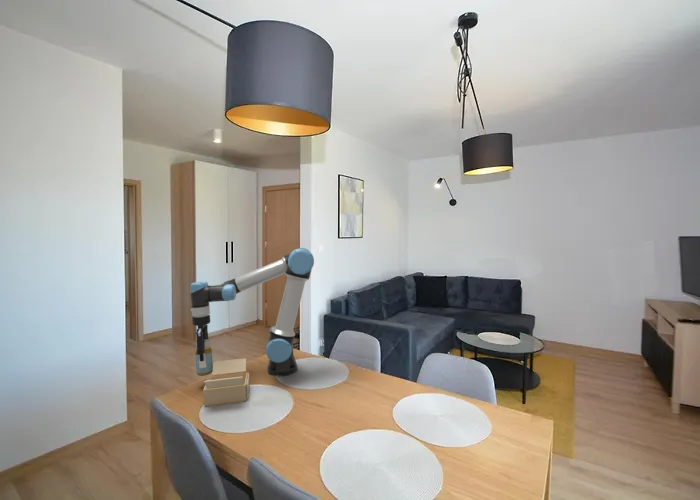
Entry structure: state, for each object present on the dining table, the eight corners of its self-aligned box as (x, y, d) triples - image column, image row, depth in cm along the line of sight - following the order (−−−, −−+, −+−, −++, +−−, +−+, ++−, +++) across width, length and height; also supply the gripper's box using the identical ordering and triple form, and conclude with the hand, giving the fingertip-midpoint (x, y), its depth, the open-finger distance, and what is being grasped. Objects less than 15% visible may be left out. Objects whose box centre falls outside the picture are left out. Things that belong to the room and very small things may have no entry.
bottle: (209, 375, 153) (206, 343, 152) (193, 376, 153) (191, 344, 153) (215, 369, 160) (213, 338, 159) (201, 370, 160) (198, 339, 160)
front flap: (204, 380, 134) (204, 381, 134) (242, 376, 137) (242, 377, 137) (206, 387, 138) (206, 388, 138) (243, 383, 142) (243, 384, 141)
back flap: (246, 358, 159) (246, 358, 159) (213, 361, 155) (213, 361, 156) (245, 371, 155) (245, 371, 155) (212, 375, 151) (212, 375, 152)
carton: (249, 387, 156) (249, 372, 155) (247, 401, 142) (247, 384, 142) (209, 392, 152) (208, 376, 151) (203, 407, 138) (202, 390, 138)
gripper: (196, 311, 164) (200, 358, 165) (187, 321, 145) (190, 373, 146) (213, 310, 166) (216, 356, 167) (205, 319, 147) (209, 371, 148)
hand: (204, 364), depth 156 cm, fingers closed on bottle, 7 cm apart
